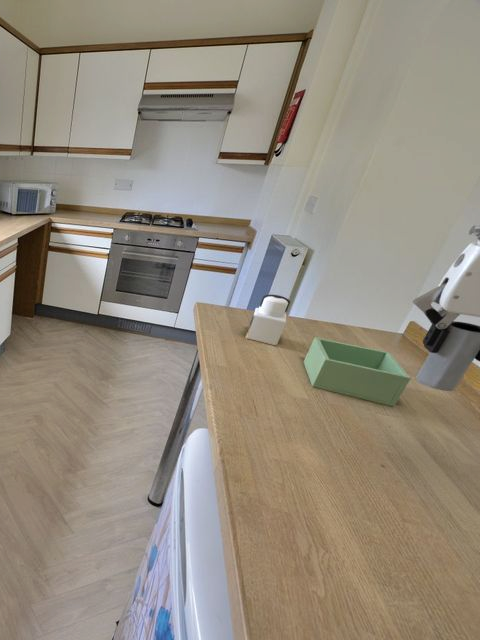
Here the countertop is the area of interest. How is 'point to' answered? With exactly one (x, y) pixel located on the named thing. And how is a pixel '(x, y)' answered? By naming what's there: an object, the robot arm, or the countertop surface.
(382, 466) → the countertop surface
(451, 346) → the grey cylinder
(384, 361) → the basket
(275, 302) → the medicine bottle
